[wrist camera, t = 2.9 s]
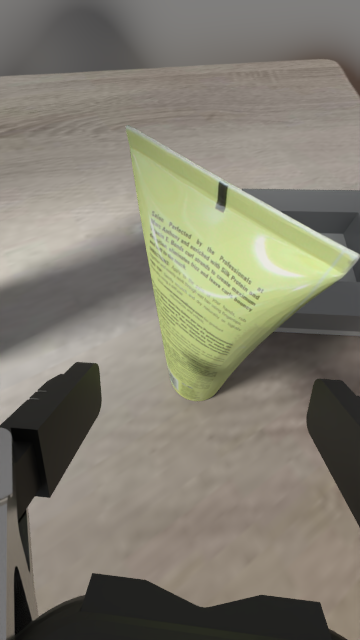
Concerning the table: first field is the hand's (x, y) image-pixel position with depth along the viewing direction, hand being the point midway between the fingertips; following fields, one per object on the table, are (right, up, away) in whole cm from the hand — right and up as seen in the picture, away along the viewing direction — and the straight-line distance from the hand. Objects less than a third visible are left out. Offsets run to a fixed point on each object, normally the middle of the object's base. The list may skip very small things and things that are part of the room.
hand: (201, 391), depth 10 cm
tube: (+1, -3, +14) cm, 15 cm away
